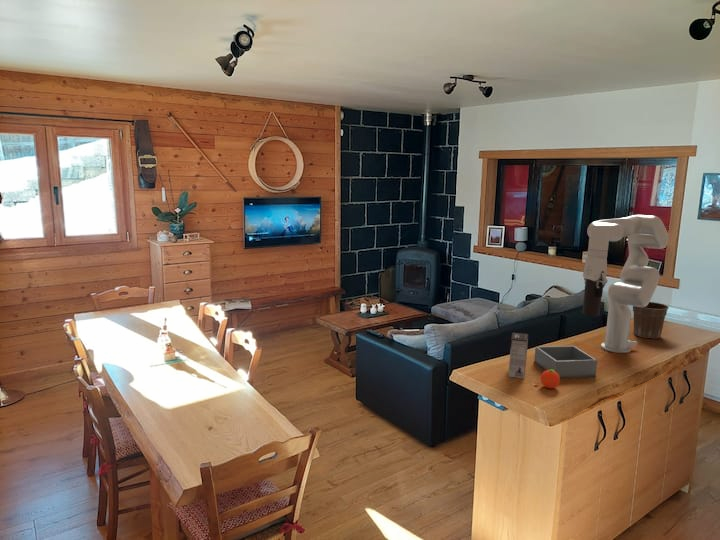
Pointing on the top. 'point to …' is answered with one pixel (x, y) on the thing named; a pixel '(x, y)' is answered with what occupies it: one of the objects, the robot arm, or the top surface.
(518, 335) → the coffee box
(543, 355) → the tote
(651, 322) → the plant pot
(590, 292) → the vinegar
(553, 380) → the clementine
